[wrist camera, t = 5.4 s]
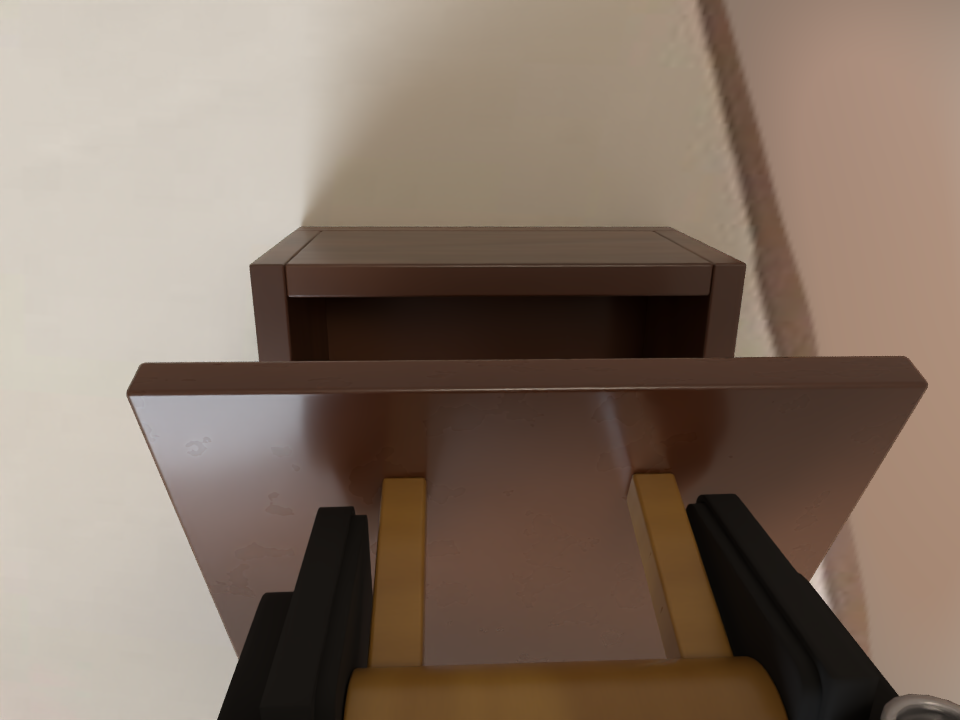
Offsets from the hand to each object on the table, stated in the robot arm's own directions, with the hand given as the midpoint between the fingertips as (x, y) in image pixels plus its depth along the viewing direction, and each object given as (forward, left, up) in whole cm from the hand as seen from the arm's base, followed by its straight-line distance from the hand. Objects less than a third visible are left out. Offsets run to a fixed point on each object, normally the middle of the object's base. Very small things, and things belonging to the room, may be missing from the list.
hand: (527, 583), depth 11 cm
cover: (+4, 0, -3) cm, 5 cm away
